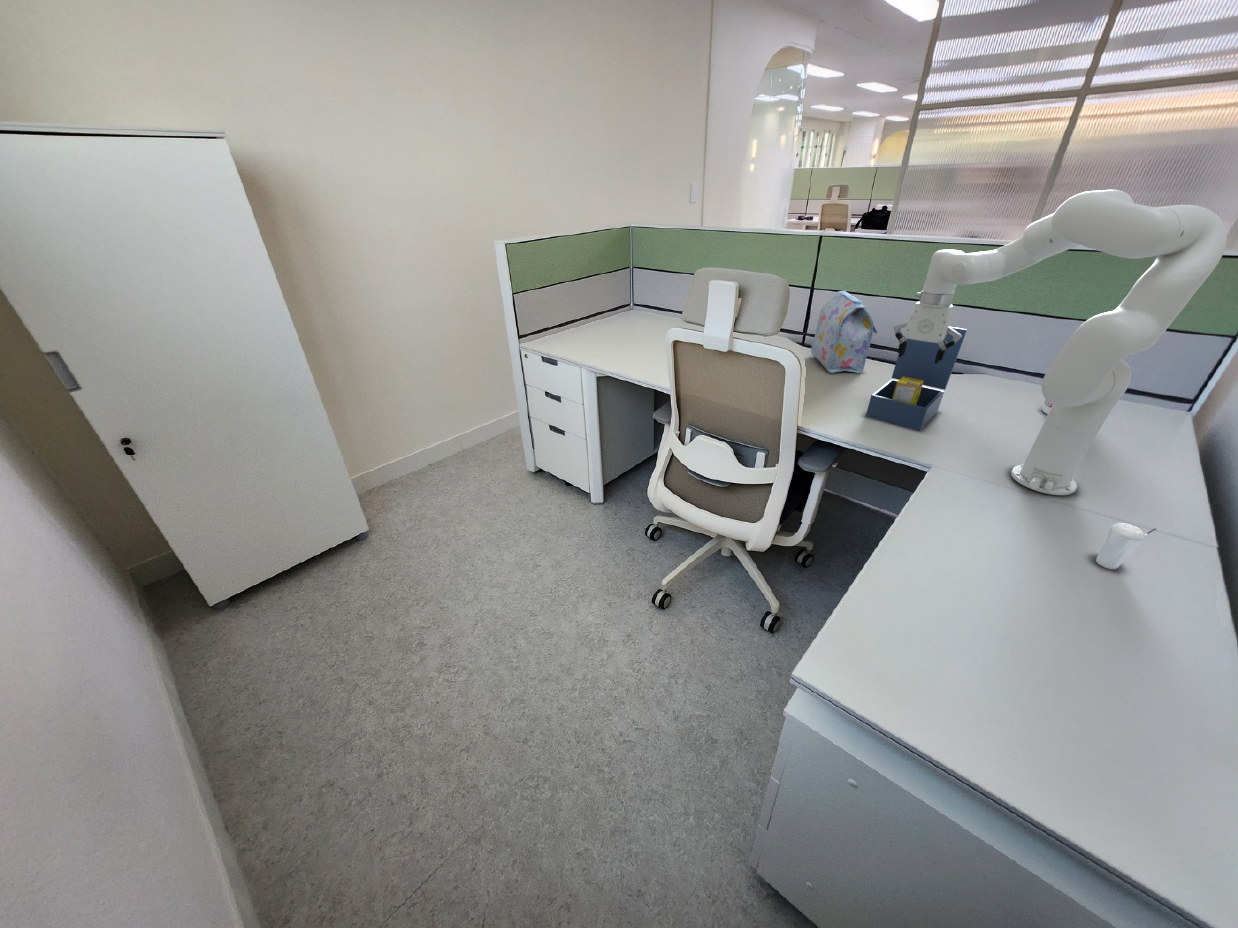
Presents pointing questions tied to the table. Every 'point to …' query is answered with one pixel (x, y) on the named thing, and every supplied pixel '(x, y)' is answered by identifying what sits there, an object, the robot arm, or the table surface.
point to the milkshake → (1119, 544)
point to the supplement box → (908, 390)
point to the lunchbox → (904, 407)
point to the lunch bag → (843, 334)
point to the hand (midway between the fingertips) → (918, 359)
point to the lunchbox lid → (928, 361)
